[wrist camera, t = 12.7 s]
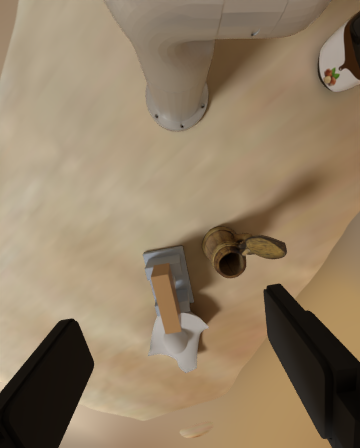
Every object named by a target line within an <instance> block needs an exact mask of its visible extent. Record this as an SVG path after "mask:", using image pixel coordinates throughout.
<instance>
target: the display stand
mask: <svg viewBox="0 0 360 448" xmlns="http://www.w3.org/2000/svg"><path fill="white" fill-rule="evenodd" d="M143 257H144V261H145V265H146V267H145V272H146V276H147V279H148V280H150V283H151V287H152V291H153V295H154V298H155V309H156V313H157V316H161V315H160V311H159V307H158V304H157V300H156V296H155V292H154V288H153V285H152V281H151V274H152V271H153V267H154V265H159V264H165V263H170V268H171V272H172V276H173V281H174V285H175V289H176V294H177V298H178V302H179V307H180V311H181V313H183V312H189V311H190V303H194V299H193V294H192V289H191V284H190V280H189V275H188V270H187V265H186V260H185V255H184V250H183V246H177V247H172V248H166V249H161V250H156V251H150V252H145V253H143Z"/></svg>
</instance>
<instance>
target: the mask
mask: <svg viewBox="0 0 360 448" xmlns="http://www.w3.org/2000/svg"><path fill="white" fill-rule="evenodd" d="M206 328H209V327H208V326H207V325H206V324H205V323H204V322H203V320H202V319H201V318H200V317H198V316H197V315H195V314H194V313H192V312H190V311H189V312H183V313H181V329H182V332H177V333H171V334H165V330H164V326H163V323H162V319H161V316H158V317H157V319H156V321H155V324H154V327H153V332H152V337H151V345H150V351H149V353H148V356H150V355H156V354H163V355H167V356H170V357H172V358H174V359H176V360H177V362H178V366H179V368H180V369H181V370H183V371H184V372H185V373H186V372H187V373H188V372H189V371H192V370H194V369H196V368H197V350H198V343H199V337H200V334H201V332H202V331H203V330H204V329H206Z"/></svg>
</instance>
